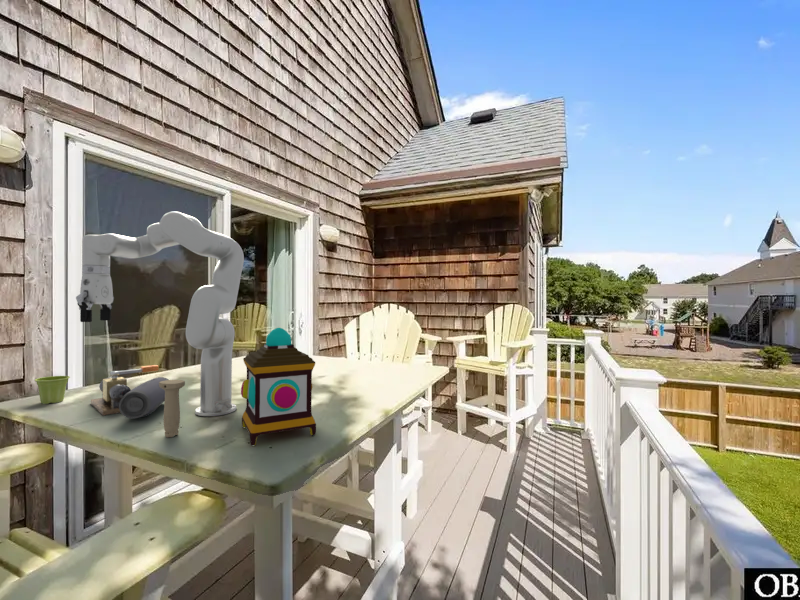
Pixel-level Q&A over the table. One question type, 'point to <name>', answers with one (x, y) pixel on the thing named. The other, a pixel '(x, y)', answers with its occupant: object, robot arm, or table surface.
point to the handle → (171, 406)
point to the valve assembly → (111, 395)
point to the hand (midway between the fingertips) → (96, 321)
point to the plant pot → (52, 388)
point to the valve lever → (136, 370)
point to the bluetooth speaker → (143, 399)
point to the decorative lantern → (277, 388)
